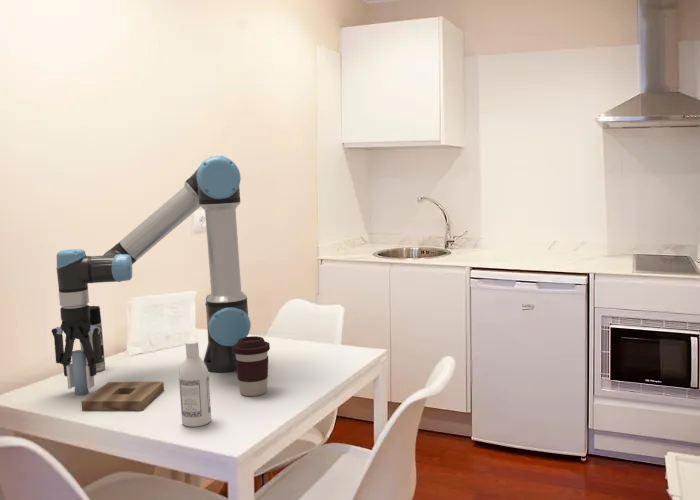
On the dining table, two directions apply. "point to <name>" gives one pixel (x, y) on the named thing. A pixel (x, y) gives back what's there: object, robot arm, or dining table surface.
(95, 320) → the spray can
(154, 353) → the dining table surface
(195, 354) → the bath foam
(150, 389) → the socket plate
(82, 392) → the peg
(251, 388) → the coffee cup
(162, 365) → the dining table surface
